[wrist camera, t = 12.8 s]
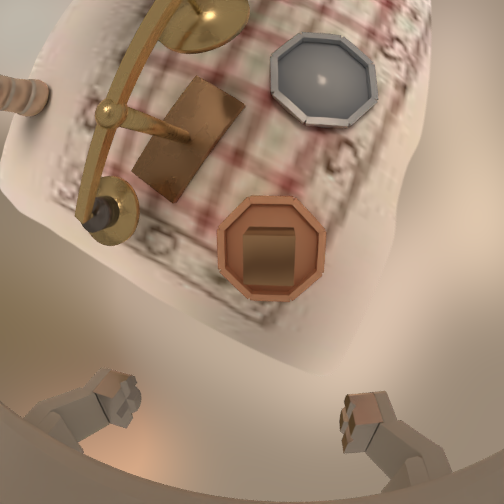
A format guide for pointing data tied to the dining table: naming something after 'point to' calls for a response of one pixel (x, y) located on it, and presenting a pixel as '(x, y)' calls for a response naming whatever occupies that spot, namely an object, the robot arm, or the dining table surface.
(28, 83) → the plastic bottle
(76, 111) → the dining table surface
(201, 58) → the dining table surface
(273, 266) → the walnut block
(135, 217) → the brass balance
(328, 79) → the slate dish
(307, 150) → the dining table surface
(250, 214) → the terracotta dish
